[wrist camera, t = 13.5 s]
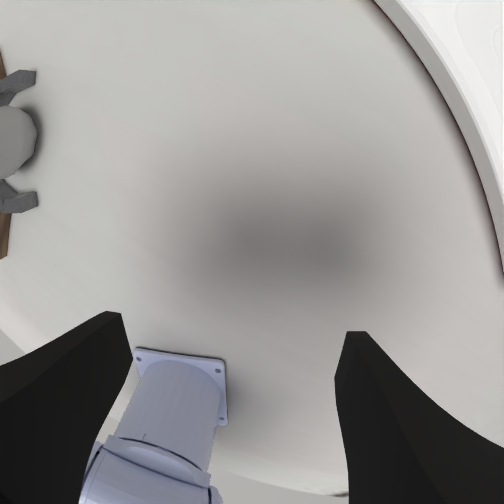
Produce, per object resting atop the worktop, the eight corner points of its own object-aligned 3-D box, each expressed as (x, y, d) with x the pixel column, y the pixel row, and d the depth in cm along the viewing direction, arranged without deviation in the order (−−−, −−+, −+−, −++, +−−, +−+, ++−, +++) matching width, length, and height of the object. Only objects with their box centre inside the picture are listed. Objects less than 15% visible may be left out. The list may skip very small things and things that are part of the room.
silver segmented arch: (38, 206, 19) (22, 212, 17) (-5, 208, 19) (-19, 215, 17) (35, 71, 14) (19, 69, 12) (-9, 94, 15) (-23, 94, 13)
